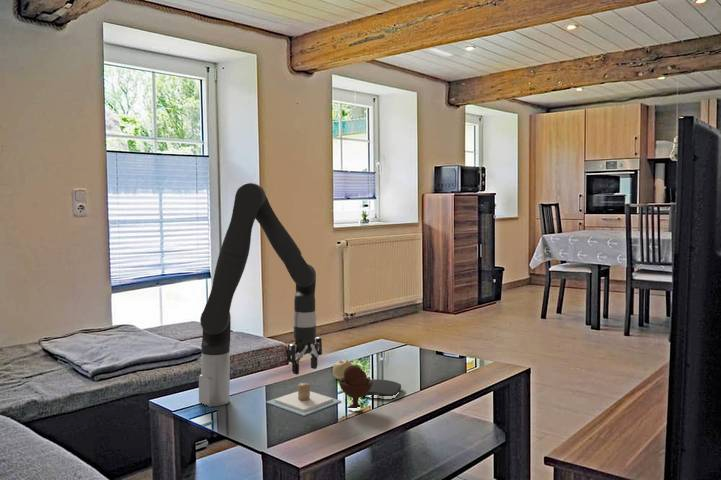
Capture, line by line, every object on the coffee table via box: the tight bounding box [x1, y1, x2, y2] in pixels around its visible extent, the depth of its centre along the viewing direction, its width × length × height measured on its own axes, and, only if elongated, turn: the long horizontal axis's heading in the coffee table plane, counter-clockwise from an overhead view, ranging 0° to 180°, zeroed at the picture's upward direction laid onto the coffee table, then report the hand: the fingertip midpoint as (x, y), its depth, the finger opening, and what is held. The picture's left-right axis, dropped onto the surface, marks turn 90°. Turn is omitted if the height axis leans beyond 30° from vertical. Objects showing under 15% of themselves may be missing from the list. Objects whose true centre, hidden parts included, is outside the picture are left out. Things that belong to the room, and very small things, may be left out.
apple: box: [332, 359, 353, 381], centre depth 233 cm, size 8×8×8 cm
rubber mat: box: [265, 390, 342, 417], centre depth 206 cm, size 18×18×1 cm
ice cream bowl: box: [338, 364, 373, 408], centre depth 200 cm, size 11×11×15 cm
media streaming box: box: [364, 378, 402, 396], centre depth 219 cm, size 15×15×3 cm
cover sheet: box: [274, 382, 334, 412], centre depth 206 cm, size 14×14×6 cm
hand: (305, 371), depth 206 cm, fingers open, 8 cm apart
